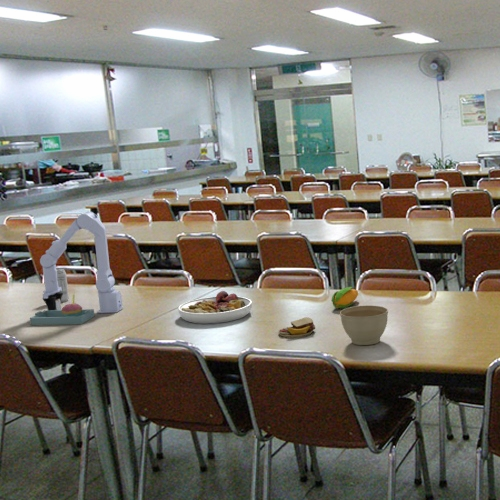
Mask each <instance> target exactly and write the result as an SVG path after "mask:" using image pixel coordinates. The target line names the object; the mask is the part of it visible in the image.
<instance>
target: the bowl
mask: <svg viewBox="0 0 500 500" xmlns="http://www.w3.org/2000/svg"><path fill="white" fill-rule="evenodd" d="M252 305H253V301H252V299H250V298H247V297H242V296H238V295H237V294H236V293H233V292H232V293H231V294H229V293H228V292H227V291H225V290H221V291H219V292H217V294H216V296H209V297H202V298H197V299H193V300H189V301H187V302H183V303H182V304H180V305H179V306H178V308H177V309H178V314H179V316H180V317H181V319H183V320H184V321H186V322H188V323H193V324H202V325H207V324H208V325H210V324H223V323H228V322H234V321H237V320H239V319H242V318H244V317H246V316H247V315H248V314H249V313H250V312H251V310H252V308H253V306H252Z"/></svg>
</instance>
